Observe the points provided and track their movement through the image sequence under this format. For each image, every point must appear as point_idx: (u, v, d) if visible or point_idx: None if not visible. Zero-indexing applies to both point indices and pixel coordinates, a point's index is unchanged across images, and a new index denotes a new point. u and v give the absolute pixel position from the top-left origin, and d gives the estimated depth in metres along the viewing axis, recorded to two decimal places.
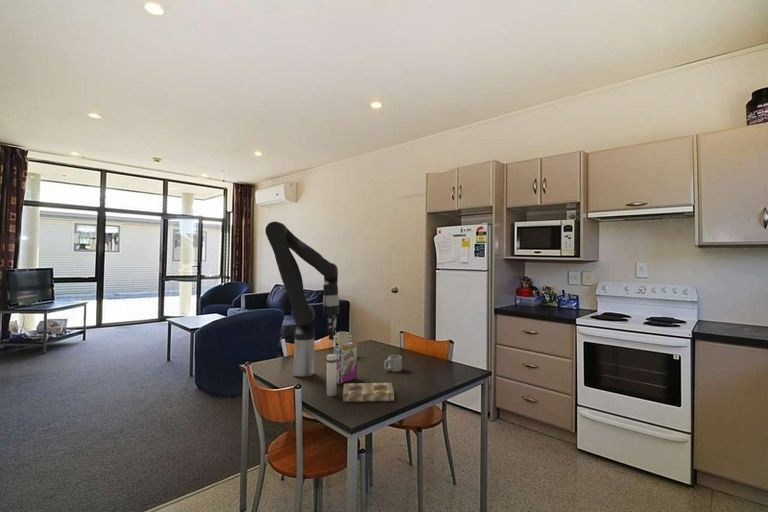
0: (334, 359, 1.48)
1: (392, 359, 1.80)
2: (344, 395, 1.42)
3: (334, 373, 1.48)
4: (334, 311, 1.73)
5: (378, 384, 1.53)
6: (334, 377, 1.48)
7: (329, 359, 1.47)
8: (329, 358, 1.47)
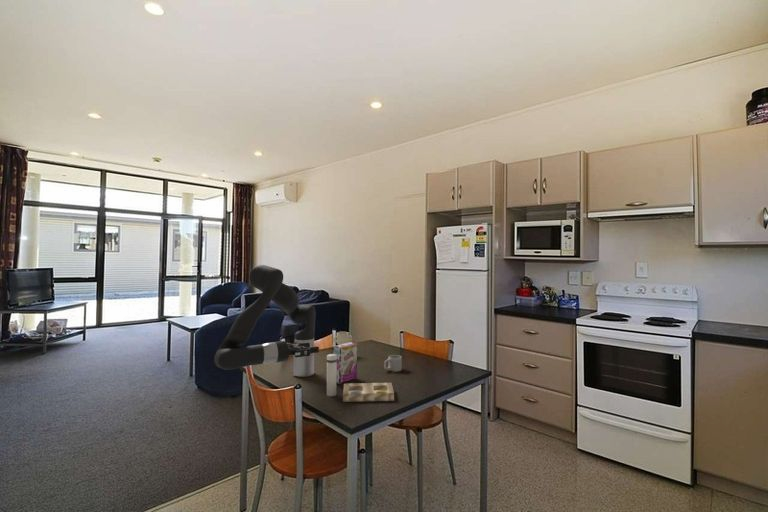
0: (334, 359, 1.48)
1: (392, 359, 1.80)
2: (344, 395, 1.42)
3: (334, 373, 1.48)
4: None
5: (378, 384, 1.53)
6: (334, 377, 1.48)
7: (329, 359, 1.47)
8: (329, 358, 1.47)
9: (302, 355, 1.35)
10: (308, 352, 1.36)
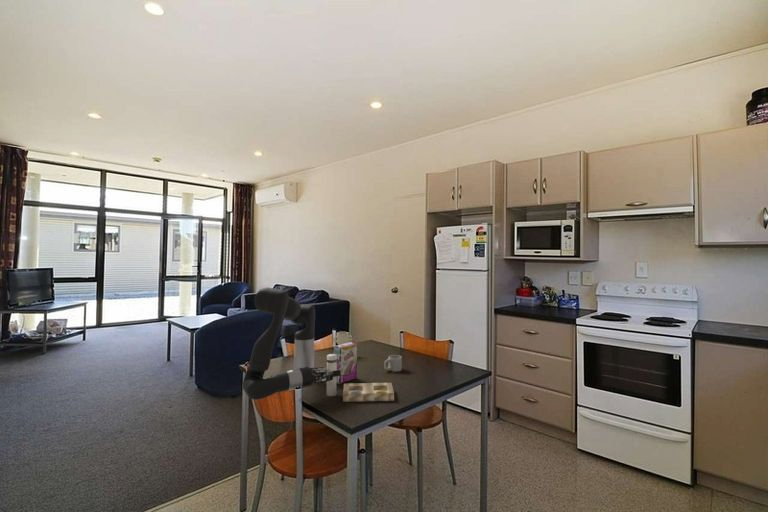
0: (334, 359, 1.48)
1: (392, 359, 1.80)
2: (344, 395, 1.42)
3: None
4: None
5: (378, 384, 1.53)
6: (334, 377, 1.48)
7: (329, 359, 1.47)
8: (329, 358, 1.47)
9: (327, 380, 1.42)
10: (331, 376, 1.44)
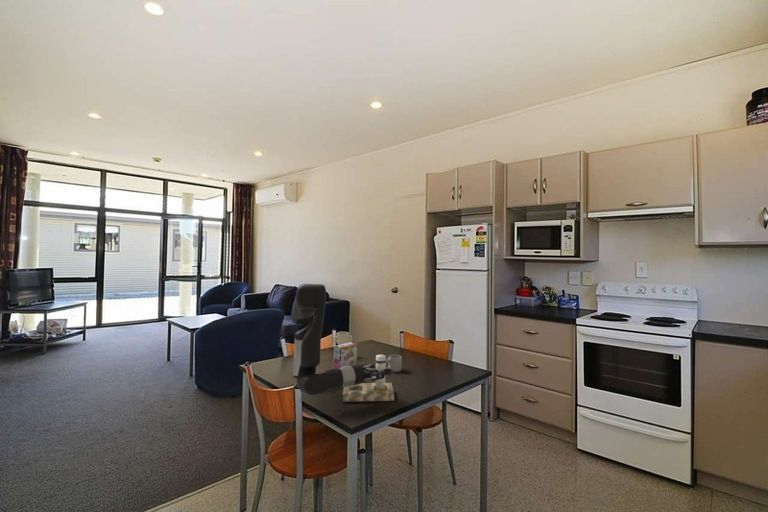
0: (384, 360, 1.47)
1: (392, 359, 1.80)
2: (344, 395, 1.42)
3: None
4: None
5: None
6: (383, 378, 1.47)
7: (379, 360, 1.47)
8: (379, 359, 1.47)
9: (378, 378, 1.40)
10: (383, 375, 1.41)
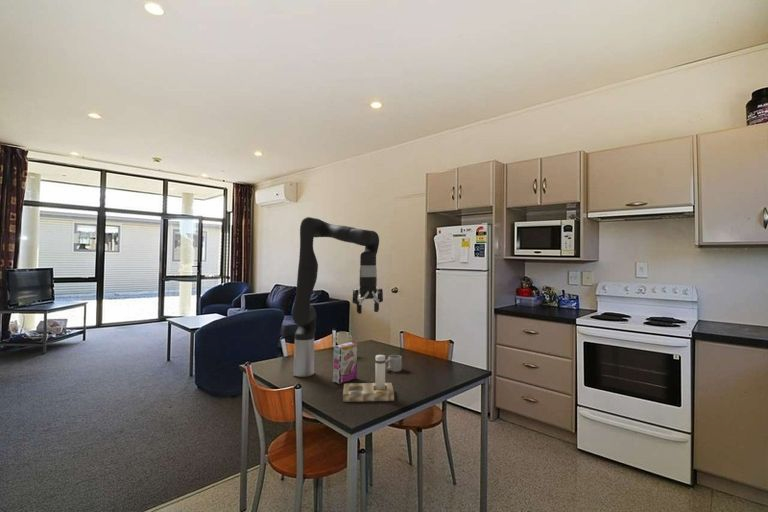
0: (383, 360, 1.47)
1: (392, 359, 1.80)
2: (344, 395, 1.42)
3: (383, 374, 1.47)
4: (364, 283, 1.56)
5: None
6: (383, 378, 1.47)
7: (378, 360, 1.47)
8: (378, 359, 1.47)
9: None
10: None
